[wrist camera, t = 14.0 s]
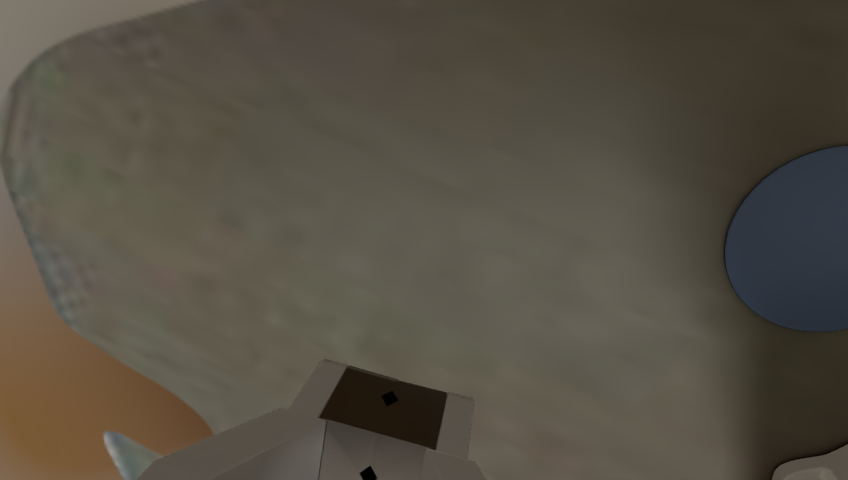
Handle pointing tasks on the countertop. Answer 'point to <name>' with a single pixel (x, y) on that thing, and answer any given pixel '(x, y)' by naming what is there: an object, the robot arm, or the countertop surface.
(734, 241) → the disc
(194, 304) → the countertop surface
